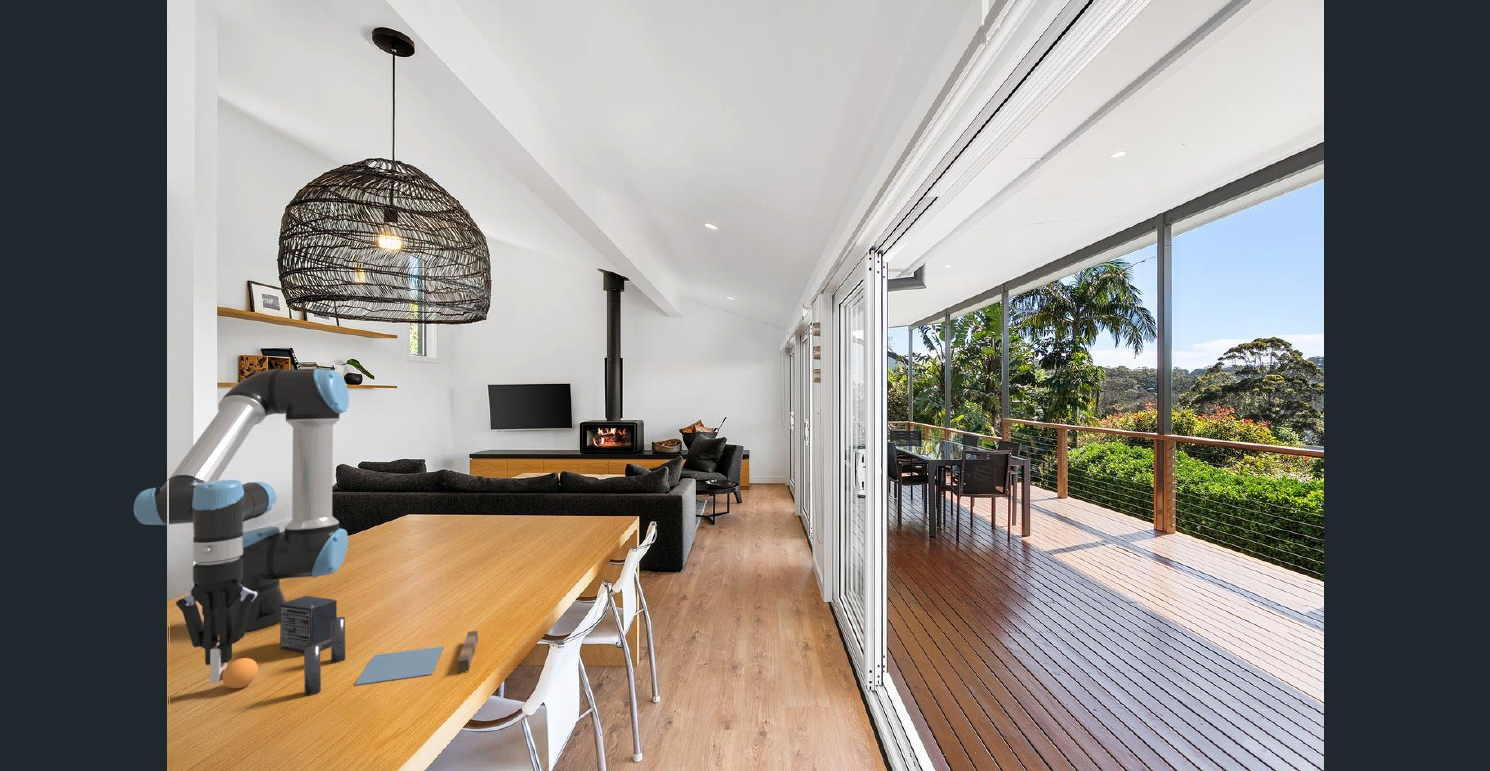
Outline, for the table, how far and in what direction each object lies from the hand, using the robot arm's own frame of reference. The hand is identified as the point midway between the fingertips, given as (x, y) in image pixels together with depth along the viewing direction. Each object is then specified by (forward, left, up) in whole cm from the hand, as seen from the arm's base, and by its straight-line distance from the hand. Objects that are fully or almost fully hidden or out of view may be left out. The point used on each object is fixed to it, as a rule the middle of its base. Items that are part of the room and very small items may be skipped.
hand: (218, 679), depth 120 cm
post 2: (-8, +18, -2) cm, 20 cm away
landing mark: (0, +32, -2) cm, 32 cm away
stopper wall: (0, +45, -2) cm, 45 cm away
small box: (-18, +9, -2) cm, 21 cm away
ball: (0, +3, +1) cm, 4 cm away
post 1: (+7, +18, -2) cm, 20 cm away
